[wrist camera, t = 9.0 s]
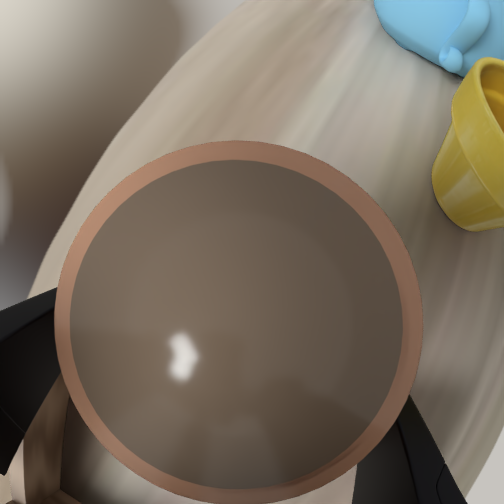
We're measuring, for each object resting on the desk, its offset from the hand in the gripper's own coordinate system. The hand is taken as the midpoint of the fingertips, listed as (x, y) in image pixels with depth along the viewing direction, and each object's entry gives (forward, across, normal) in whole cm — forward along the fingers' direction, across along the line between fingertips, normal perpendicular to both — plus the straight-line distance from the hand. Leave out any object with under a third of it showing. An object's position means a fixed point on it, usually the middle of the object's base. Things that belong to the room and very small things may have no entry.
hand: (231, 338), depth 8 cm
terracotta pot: (+7, 0, +6) cm, 9 cm away
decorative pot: (+30, -11, -17) cm, 36 cm away
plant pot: (+16, -13, -3) cm, 21 cm away
